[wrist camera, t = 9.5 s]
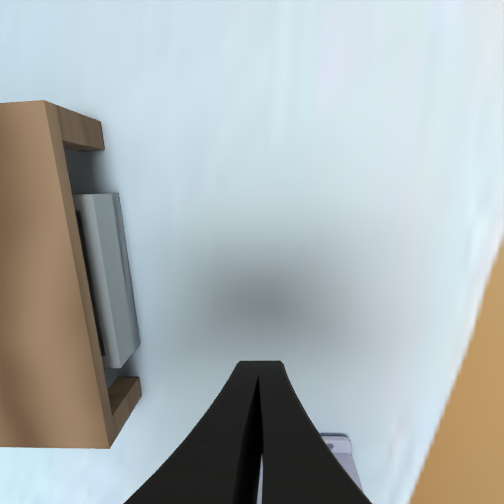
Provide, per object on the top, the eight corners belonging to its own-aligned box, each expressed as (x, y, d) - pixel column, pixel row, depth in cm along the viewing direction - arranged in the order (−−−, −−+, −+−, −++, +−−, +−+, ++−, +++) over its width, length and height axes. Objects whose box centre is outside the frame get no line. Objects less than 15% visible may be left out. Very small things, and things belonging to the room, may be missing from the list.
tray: (118, 192, 17) (92, 194, 15) (140, 344, 19) (120, 368, 17) (7, 197, 18) (-36, 199, 15) (41, 345, 20) (8, 368, 17)
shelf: (100, 121, 16) (43, 100, 12) (141, 395, 20) (109, 448, 16) (-44, 130, 17) (-144, 113, 13) (24, 395, 21) (-35, 446, 17)
